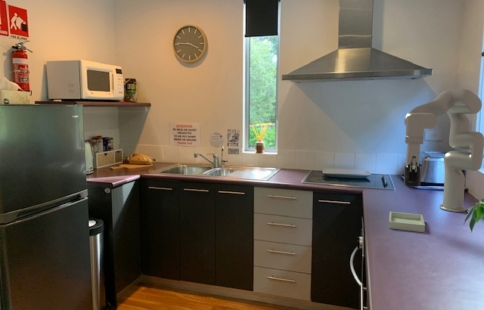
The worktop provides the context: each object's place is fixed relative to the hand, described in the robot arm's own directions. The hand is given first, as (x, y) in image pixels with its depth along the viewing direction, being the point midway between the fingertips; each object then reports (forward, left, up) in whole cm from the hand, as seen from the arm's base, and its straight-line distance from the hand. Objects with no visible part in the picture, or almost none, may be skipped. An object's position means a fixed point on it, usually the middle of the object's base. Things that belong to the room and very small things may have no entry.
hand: (412, 178), depth 168 cm
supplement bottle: (0, 0, -3) cm, 3 cm away
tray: (0, -2, -22) cm, 22 cm away
